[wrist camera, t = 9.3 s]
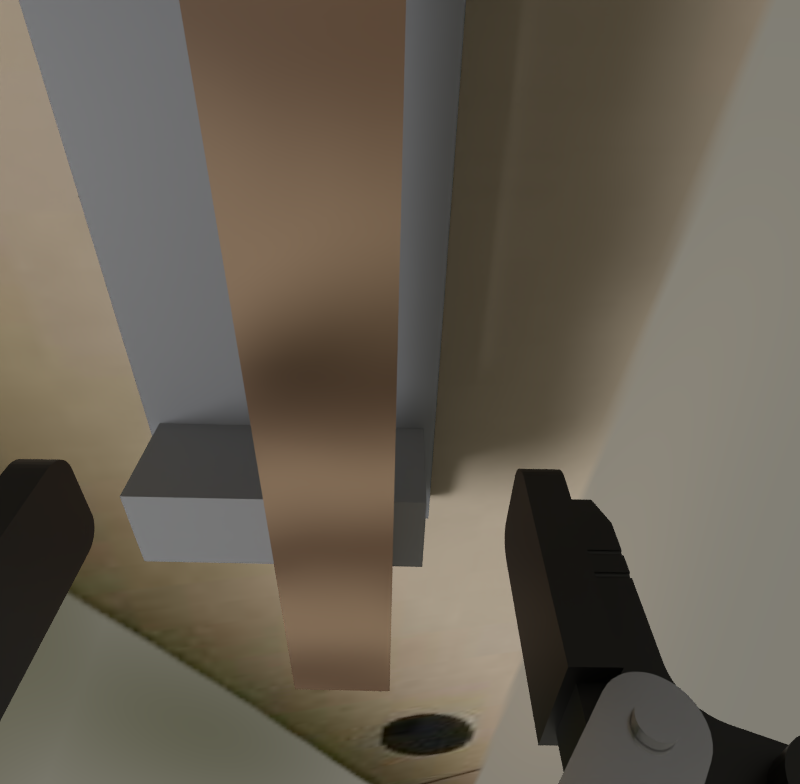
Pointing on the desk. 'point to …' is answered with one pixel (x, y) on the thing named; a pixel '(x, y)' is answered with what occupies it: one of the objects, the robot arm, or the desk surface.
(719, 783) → the robot arm
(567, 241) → the desk surface
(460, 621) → the desk surface
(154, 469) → the notch rack
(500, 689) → the desk surface
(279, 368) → the wooden plank
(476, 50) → the desk surface
